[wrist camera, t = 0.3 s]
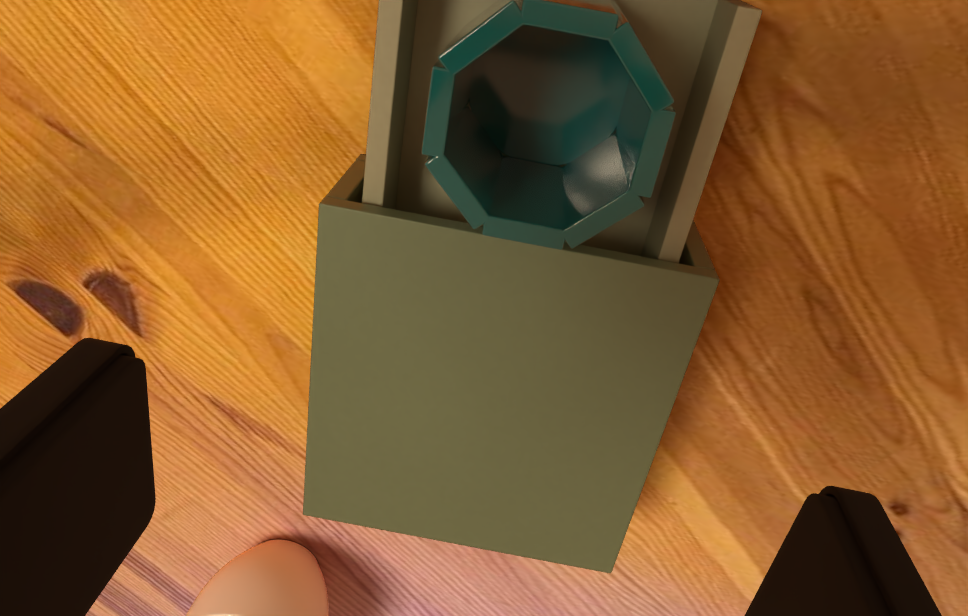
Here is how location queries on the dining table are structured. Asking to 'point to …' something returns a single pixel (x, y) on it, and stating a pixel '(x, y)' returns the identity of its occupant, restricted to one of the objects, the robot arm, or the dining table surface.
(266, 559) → the cup
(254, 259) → the dining table surface
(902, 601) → the robot arm
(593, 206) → the green octagonal cup
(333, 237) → the cabinet
